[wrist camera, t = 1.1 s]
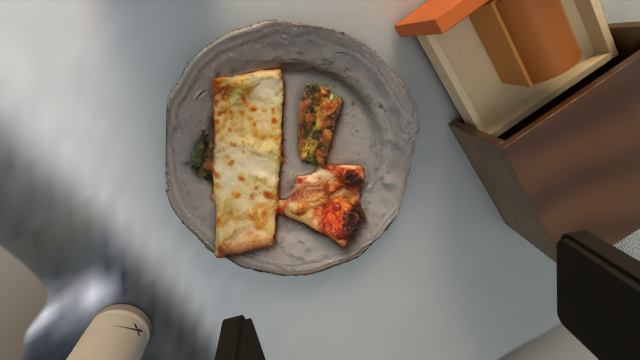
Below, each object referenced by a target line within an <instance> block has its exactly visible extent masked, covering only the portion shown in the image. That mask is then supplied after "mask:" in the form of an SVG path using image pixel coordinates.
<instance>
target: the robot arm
mask: <svg viewBox="0 0 640 360" xmlns="http://www.w3.org/2000/svg"><path fill="white" fill-rule="evenodd" d="M556 251H557V313H558V317H559V319H560V321H561V323H562V324H563V325H564V326H565V327H566V328H567V329H568V330H569V331H570V332H571V333H572V334H573V335H574V336H575V337H576V338H577V339H578V340H579V341H580V342H581V343H582V344H583V345H584V346H585V347H586V348H587V349H588V350H590V351H591V352H592V353H593V354H594V355H595V356H596V357H597V358H598V359H599V360H640V261H638V260H636V259H635V258H633V257H631V256H629V255H628V254H626V253H624V252H623V251H621V250H619V249H617V248H616V247H614V246H612V245H611V244H609V243H607V242H605V241H604V240H602V239H600V238H599V237H597V236H595V235H594V234H592V233H590V232H588V231H586V230H577V231H573V232H569V233H565V234H563V235H562V236H561V238H560V240H559V241H558V242H557V245H556ZM215 360H265V357H264V354H263V351H262V348H261V345H260V342H259V339H258V336H257V333H256V330H255V328H254V325H253V322H252V320H251V319H250V318H249V319H245V317H244V316H243V315H240V316H236V317H232V318H228V319H224V320H223V322H222V327H221V332H220V337H219V341H218V346H217V351H216V356H215Z"/></svg>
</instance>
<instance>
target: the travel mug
mask: <svg viewBox="0 0 640 360" xmlns="http://www.w3.org/2000/svg"><path fill="white" fill-rule="evenodd" d="M151 333H152V324H151V321H150V319H149V317H148V316H147V315H146V314H145V313H144V312H143V311H142V310H140V309H139V308H137V307H134V306H131V305H127V304H115V305H111V306H107V307H105V308H103V309H102V310H101V311H99V312H98V313H97V315H96V316H95V317H94V319H93V320H92V322H91V324H90V325H89V326H88V328H87V329H86V331H85V332H84V334H83V335H82V337H81V338H80V340H79V341H78V343H77V344H76V346H75V347H74V349H73V350H72V352H71V353H70V355H69V356H68V358H67V359H66V360H141V357H142V355H143V353H144V350H145V348H146V345H147V343H148V341H149V339H150V336H151Z"/></svg>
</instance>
